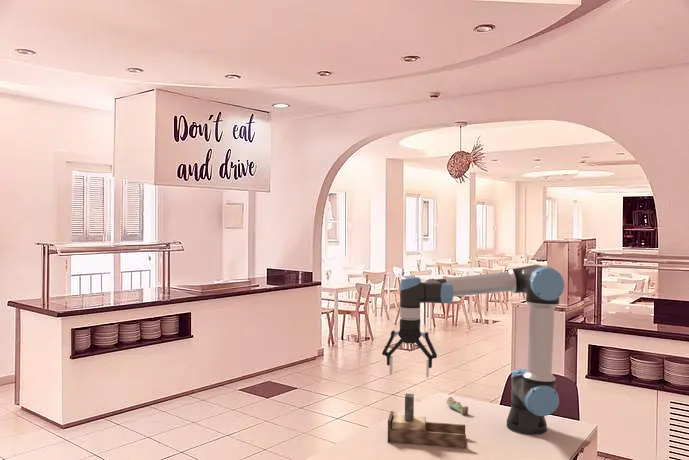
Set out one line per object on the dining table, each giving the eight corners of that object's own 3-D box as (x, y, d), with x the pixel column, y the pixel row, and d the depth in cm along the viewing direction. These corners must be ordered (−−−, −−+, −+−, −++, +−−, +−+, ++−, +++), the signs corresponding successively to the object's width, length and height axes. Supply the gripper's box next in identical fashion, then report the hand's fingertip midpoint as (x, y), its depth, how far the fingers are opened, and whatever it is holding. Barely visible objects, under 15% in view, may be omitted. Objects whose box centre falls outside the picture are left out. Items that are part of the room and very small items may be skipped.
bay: (465, 437, 210) (465, 416, 210) (465, 448, 199) (466, 426, 199) (390, 431, 215) (391, 410, 215) (387, 442, 204) (387, 420, 204)
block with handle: (425, 432, 211) (426, 393, 211) (424, 441, 203) (425, 399, 203) (393, 430, 214) (394, 391, 214) (391, 438, 205) (392, 397, 205)
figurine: (456, 416, 234) (456, 407, 234) (444, 404, 249) (444, 396, 249) (468, 415, 235) (468, 406, 235) (456, 404, 250) (456, 395, 250)
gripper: (444, 318, 210) (443, 374, 210) (378, 315, 214) (377, 370, 214) (443, 321, 202) (442, 380, 202) (375, 318, 207) (374, 375, 207)
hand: (409, 375), depth 208 cm, fingers open, 13 cm apart
